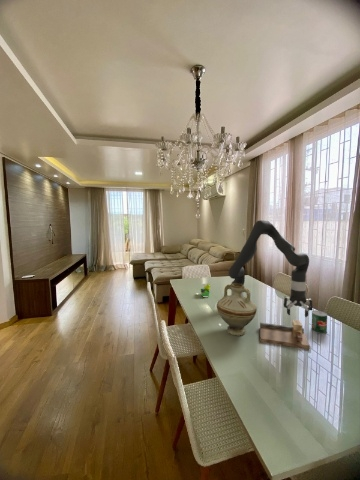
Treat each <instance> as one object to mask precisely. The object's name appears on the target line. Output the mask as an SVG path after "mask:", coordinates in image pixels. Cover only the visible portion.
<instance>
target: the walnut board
mask: <svg viewBox="0 0 360 480" xmlns="http://www.w3.org/2000/svg"><path fill="white" fill-rule="evenodd" d="M259 332H260V333H259V335H260V336H259V337H260V343H267V344H273V345H280V346H287V347H292V348H299V349H306V350H310V346H311V345H310V344H309V341H308V339H307V336H306V334H305V328H304V327H302V341H301V342H300V341H298V339H297V337H294V335H293V332H292V326H291V325H283V324H276V323H267V322H260V323H259Z"/></svg>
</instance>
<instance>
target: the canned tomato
mask: <svg viewBox="0 0 360 480" xmlns="http://www.w3.org/2000/svg"><path fill="white" fill-rule="evenodd" d="M311 330H312V331H313V332H314V333H316V332H317V333H316V334H320V333H321V334H322V335H323V334H327V332H328V313H327V312H325V311H323V310H314V309H313V310H312V311H311ZM321 334H320V335H321Z"/></svg>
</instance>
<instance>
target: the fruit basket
mask: <svg viewBox="0 0 360 480" xmlns="http://www.w3.org/2000/svg"><path fill="white" fill-rule="evenodd" d="M210 290H211V285H210V284H209V283H207V284H206V285H204V288H200V293H201V294H200V295H201V297H202V296H208V297H209V296H210Z"/></svg>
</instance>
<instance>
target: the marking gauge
mask: <svg viewBox="0 0 360 480" xmlns="http://www.w3.org/2000/svg"><path fill="white" fill-rule="evenodd" d="M302 328H303V324H302V321H301V320H298V319H297V320H296V319H292V332H293V335H294V337H297V339H298V341H300V342H301V341H302Z"/></svg>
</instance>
